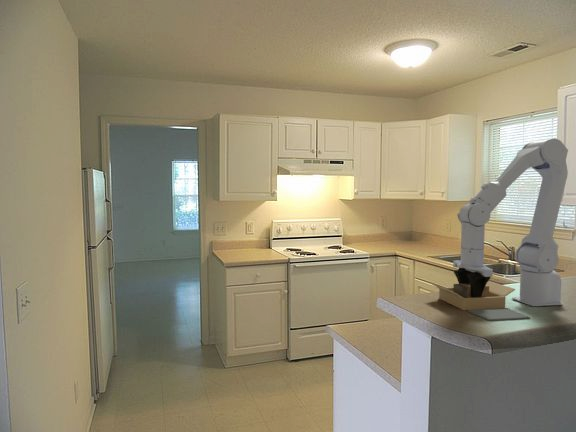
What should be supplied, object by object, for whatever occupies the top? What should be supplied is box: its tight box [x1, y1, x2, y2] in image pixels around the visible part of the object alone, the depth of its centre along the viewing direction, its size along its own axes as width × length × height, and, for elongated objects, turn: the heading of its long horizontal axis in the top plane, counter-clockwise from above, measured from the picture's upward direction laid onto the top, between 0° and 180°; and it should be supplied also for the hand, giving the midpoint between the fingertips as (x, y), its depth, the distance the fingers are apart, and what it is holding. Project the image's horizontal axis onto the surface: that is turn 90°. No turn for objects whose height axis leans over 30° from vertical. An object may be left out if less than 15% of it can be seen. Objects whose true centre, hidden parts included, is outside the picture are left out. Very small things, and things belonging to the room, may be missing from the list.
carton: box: [430, 280, 516, 311], centre depth 112 cm, size 18×12×5 cm, turn 100°
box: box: [452, 283, 489, 298], centre depth 112 cm, size 8×4×5 cm, turn 100°
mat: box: [467, 307, 531, 322], centre depth 101 cm, size 11×8×1 cm
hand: (470, 298), depth 112 cm, fingers closed on box, 4 cm apart
